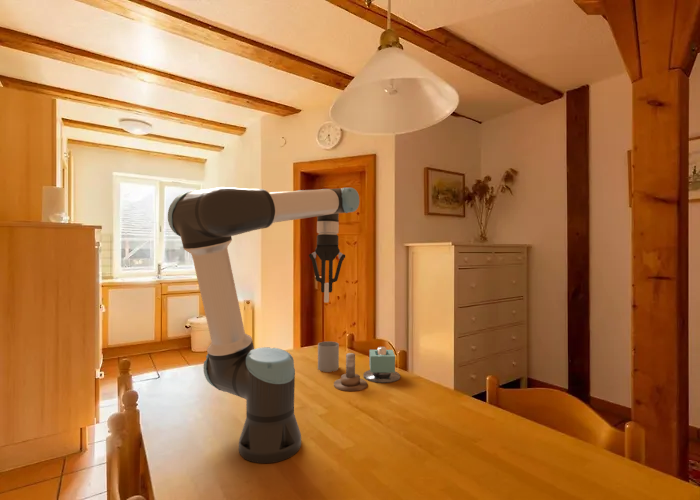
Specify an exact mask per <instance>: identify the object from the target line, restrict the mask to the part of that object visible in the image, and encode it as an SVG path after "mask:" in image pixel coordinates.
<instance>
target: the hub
mask: <svg viewBox="0 0 700 500" xmlns="http://www.w3.org/2000/svg"><path fill="white" fill-rule="evenodd" d="M377 350H378V355H386V350H387V347H385V346H378V347H377ZM363 378H364V380H365V381H366V380H367V381H369V382H371V383H379V384H390V383H395V382H397V381H399V380H400V379H401V374H400V373H399V371H396V370H395V373H385V372H371V371H370V369H368V370H366V371H364V372H363Z"/></svg>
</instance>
